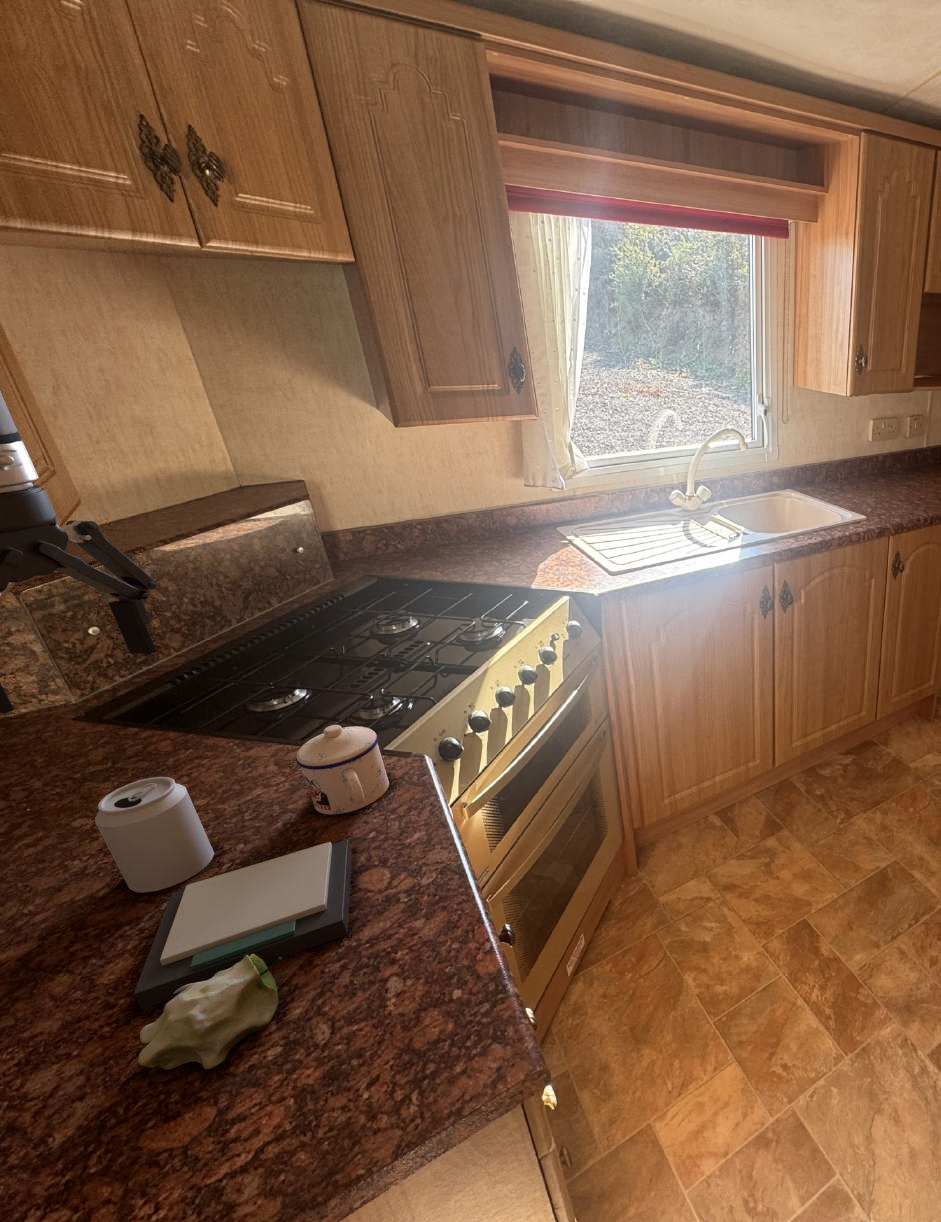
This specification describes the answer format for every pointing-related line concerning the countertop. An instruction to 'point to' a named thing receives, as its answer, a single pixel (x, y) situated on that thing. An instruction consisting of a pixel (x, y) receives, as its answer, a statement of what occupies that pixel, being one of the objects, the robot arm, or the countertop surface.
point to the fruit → (211, 1016)
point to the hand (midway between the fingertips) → (77, 679)
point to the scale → (248, 918)
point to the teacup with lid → (343, 769)
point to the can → (153, 833)
